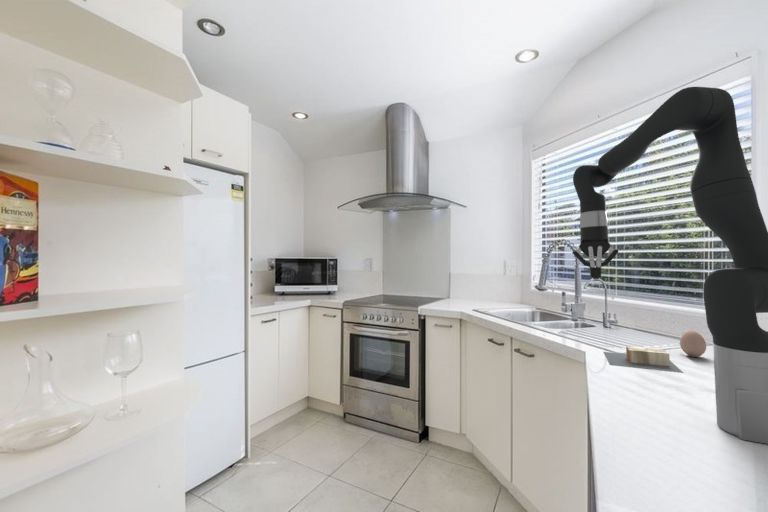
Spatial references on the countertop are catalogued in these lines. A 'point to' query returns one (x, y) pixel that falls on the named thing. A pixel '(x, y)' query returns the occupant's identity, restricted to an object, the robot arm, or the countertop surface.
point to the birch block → (648, 356)
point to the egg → (693, 343)
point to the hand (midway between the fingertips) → (595, 278)
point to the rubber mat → (622, 360)
